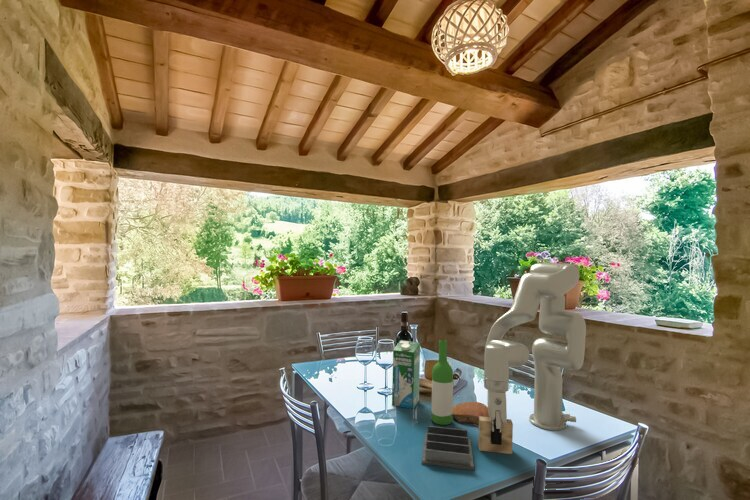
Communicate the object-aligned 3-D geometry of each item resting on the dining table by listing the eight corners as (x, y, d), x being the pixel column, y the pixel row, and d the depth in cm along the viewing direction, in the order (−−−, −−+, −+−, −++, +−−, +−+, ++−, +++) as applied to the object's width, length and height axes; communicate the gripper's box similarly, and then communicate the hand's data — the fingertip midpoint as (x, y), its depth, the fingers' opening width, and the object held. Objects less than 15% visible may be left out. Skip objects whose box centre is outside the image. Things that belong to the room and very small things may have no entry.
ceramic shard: (451, 394, 155) (488, 403, 151) (448, 410, 154) (486, 420, 151) (451, 403, 140) (493, 413, 137) (448, 421, 140) (490, 432, 136)
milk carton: (391, 405, 155) (393, 344, 155) (398, 397, 163) (400, 339, 163) (413, 409, 151) (414, 346, 152) (419, 401, 160) (420, 342, 160)
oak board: (510, 449, 121) (511, 419, 121) (512, 454, 118) (512, 423, 118) (478, 445, 123) (479, 416, 123) (479, 450, 120) (479, 420, 120)
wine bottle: (456, 424, 138) (457, 342, 138) (436, 427, 136) (438, 343, 136) (446, 416, 145) (447, 338, 146) (427, 418, 143) (429, 339, 144)
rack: (470, 441, 126) (470, 429, 126) (473, 470, 109) (474, 456, 109) (424, 436, 128) (425, 424, 128) (421, 463, 112) (422, 450, 112)
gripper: (513, 393, 112) (511, 455, 112) (504, 376, 128) (503, 430, 128) (486, 391, 114) (485, 452, 113) (481, 374, 130) (480, 428, 130)
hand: (495, 440), depth 121 cm, fingers closed on oak board, 3 cm apart
